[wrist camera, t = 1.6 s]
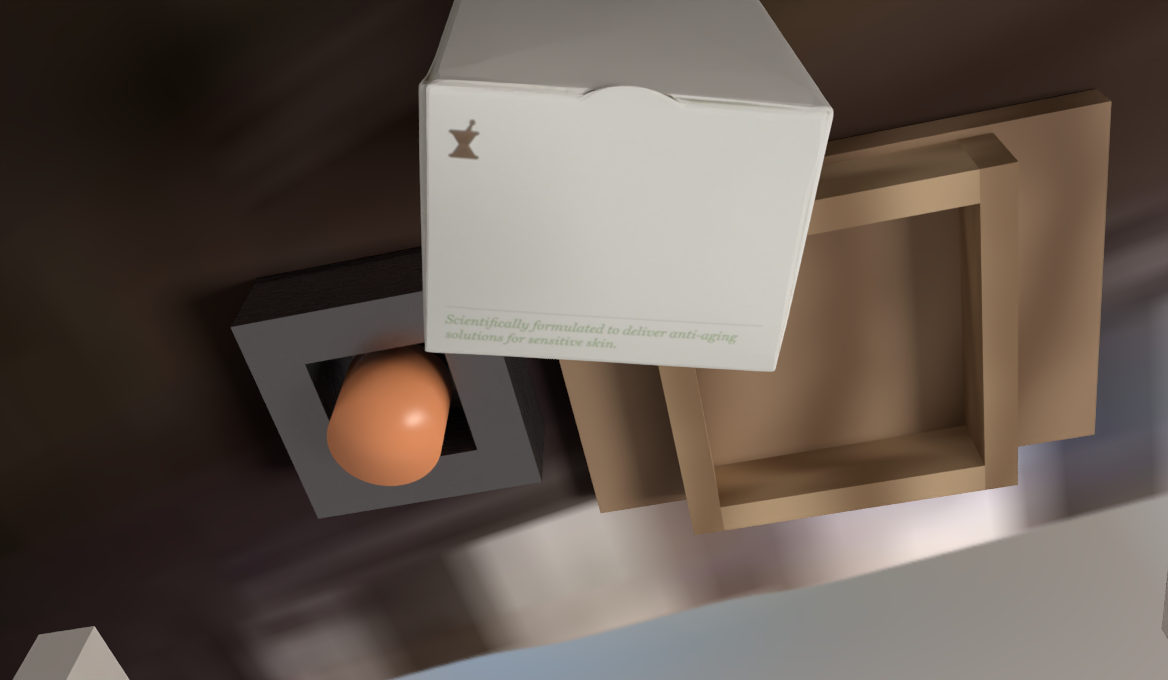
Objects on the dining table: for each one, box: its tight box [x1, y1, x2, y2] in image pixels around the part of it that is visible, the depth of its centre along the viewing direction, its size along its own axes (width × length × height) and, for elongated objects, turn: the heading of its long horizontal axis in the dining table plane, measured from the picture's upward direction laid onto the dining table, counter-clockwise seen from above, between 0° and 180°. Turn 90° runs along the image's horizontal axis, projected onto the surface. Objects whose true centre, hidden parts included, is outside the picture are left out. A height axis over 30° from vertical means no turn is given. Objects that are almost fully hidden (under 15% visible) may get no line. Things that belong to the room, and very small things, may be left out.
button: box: [327, 344, 453, 486], centre depth 39 cm, size 4×4×4 cm
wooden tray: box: [559, 89, 1111, 535], centre depth 39 cm, size 20×14×4 cm
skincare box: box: [419, 0, 833, 372], centre depth 28 cm, size 8×7×16 cm
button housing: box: [231, 247, 545, 519], centre depth 40 cm, size 9×9×4 cm
